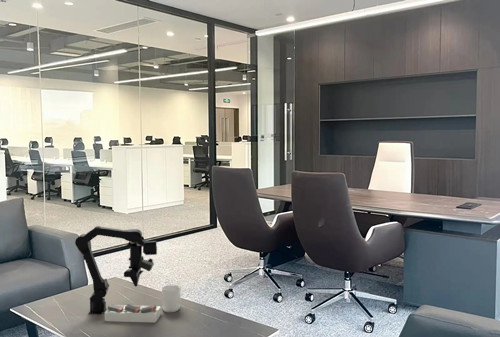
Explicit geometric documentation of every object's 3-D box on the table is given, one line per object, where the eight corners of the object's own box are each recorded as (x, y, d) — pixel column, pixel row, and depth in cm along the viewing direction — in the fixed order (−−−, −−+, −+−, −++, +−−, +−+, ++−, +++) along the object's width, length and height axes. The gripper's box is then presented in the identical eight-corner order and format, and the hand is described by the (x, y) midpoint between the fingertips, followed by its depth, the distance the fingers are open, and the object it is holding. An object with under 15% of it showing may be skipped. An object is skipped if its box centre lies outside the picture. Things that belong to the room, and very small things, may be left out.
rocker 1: (107, 309, 201) (108, 306, 201) (110, 307, 205) (110, 303, 204) (120, 313, 201) (121, 309, 201) (122, 310, 204) (123, 307, 204)
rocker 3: (141, 313, 201) (140, 310, 200) (143, 311, 204) (142, 307, 204) (154, 310, 200) (153, 307, 200) (156, 308, 203) (155, 305, 203)
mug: (172, 314, 209) (173, 291, 209) (158, 311, 213) (158, 289, 213) (186, 306, 220) (186, 284, 220) (172, 303, 224) (172, 282, 224)
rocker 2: (124, 309, 201) (125, 306, 201) (126, 307, 204) (127, 303, 204) (137, 314, 201) (138, 310, 201) (139, 311, 204) (140, 308, 204)
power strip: (104, 321, 200) (104, 312, 200) (112, 312, 210) (112, 304, 210) (155, 322, 199) (155, 313, 199) (160, 314, 209) (160, 305, 209)
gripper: (146, 260, 204) (146, 292, 204) (156, 251, 222) (156, 280, 223) (123, 259, 204) (123, 292, 205) (135, 250, 223) (135, 280, 224)
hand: (135, 286), depth 214 cm, fingers closed
